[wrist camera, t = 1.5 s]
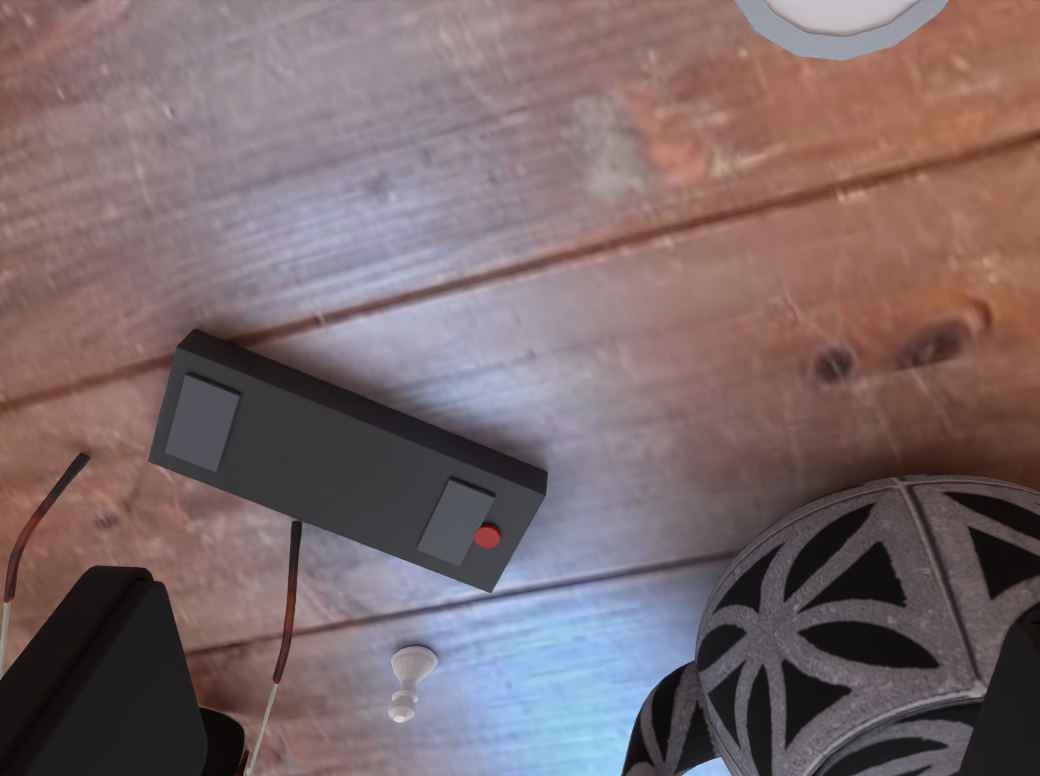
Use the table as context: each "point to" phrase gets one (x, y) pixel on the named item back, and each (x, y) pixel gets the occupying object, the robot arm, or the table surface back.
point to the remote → (343, 462)
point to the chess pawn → (409, 679)
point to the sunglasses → (220, 728)
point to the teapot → (853, 635)
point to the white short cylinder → (838, 24)
